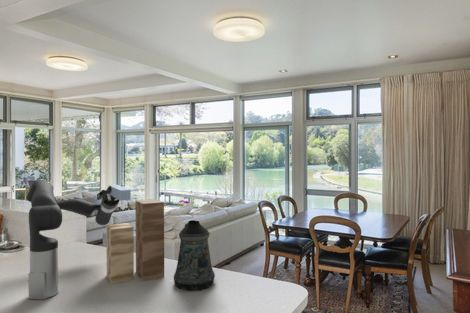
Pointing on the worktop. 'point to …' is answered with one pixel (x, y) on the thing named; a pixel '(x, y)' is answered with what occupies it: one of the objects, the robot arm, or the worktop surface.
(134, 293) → the worktop surface
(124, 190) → the bar
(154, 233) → the walnut stand
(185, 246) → the beer stein
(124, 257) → the oak tower
